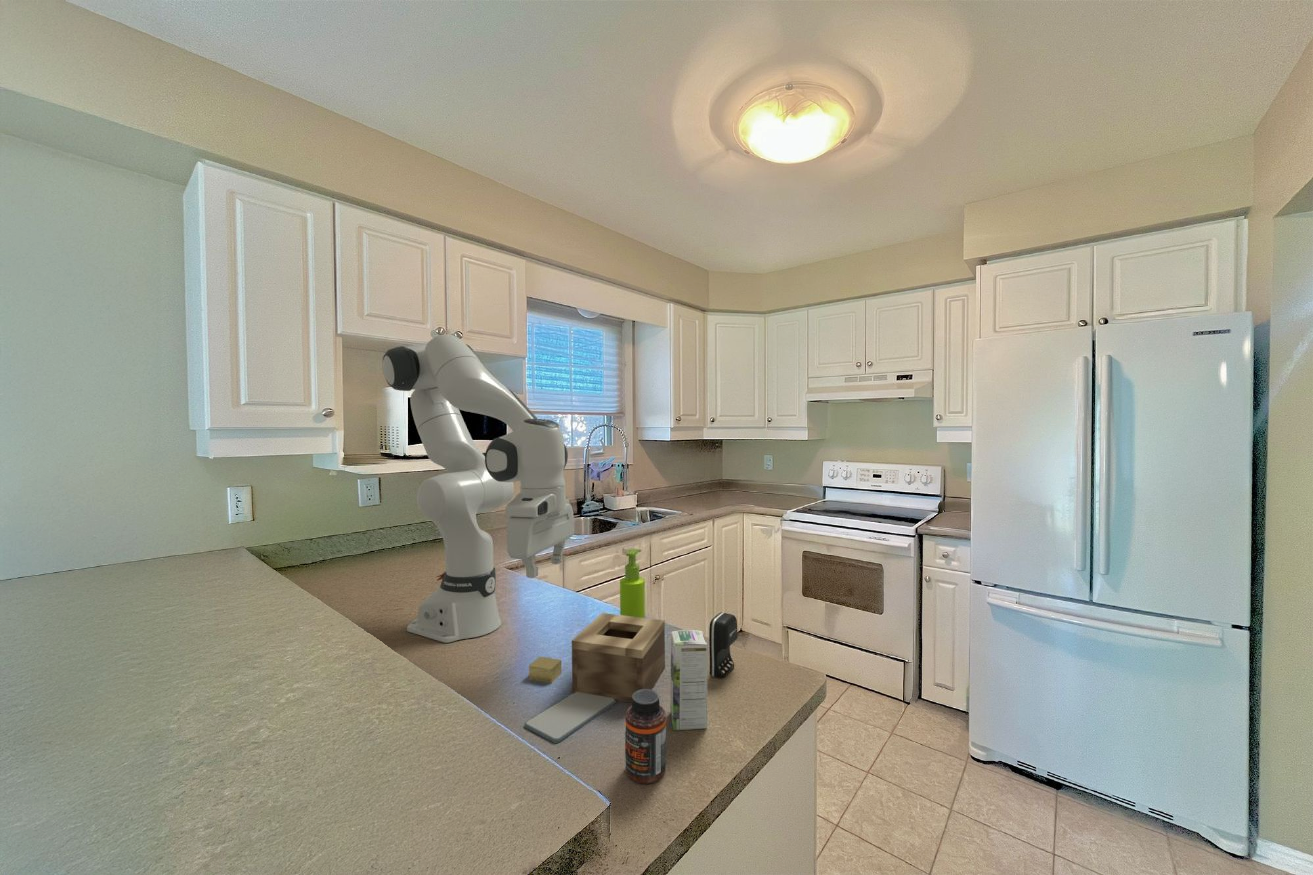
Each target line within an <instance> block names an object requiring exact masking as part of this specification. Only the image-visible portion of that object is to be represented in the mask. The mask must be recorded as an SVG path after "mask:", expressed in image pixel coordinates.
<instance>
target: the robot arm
mask: <svg viewBox="0 0 1313 875" xmlns="http://www.w3.org/2000/svg"><path fill="white" fill-rule="evenodd" d="M381 363H382V366H381V367H382V368H381V369H382V373H383V377H384V379H385V381H386V383H387V384H388V385H389V386H390V387H391V388H392V389H393V390H396V391H403V392H410V391H412V390H413V392H412V393H411V395H410V397H409V399H410V402H409V403H410V409H411V414H412V417H413V421H414V424H415V426H416V427H415V428H416V430H417V433H418V435H419V437H420V440H421V444H422V446H423V447H424V450H425V453H426V455H427V457H428V459H429V460H430V461H431V462H432V463H434V464H435V465H438V466H440V467H442V468H444V469H445V470H446V471H447V472H446V473H441V474H437V475H435V476H432V477H429V478H427V479H425V480H424V481H422V482H421V484H420V485H419V487H418V489H417V492H416V504H417V507H418V510H419V511H420V514H422V516H423V517H424V518H425V519H428V520H429V521H431V522H432V523H433V524H434V525H435V526H436V527H437V528H438V530H439V532H440V535H441V537H442V540H443V544H444V552H445V553H444V555H445V556H444V557H445V572H443V573H442V574H440V575H438V576H436V578H437V579H436V581H437V582H438V581H439V582H440V580H441V582H440V585H439V587H438V588H436V590H434V591H433V592H432V593H431V594H429V595H428V596H427V597H426V598H425V599H423V600H422V602H421V603H420V604H419V607H418V611H417V618H415V619H414V620H412V621H411V622H409V623H408V625H407V627H406V632H408V633H411V634H414V635H419V636H422V637H425V638H428V639H431V640H435V641H437V642H440V643H452V642H456V641H458V640H464V639H470V638H477V637H481V636H485V635H487V634H489V633H492V632H494V631H496V630H497V629H499V628H500V627H501V625H502V619H501V617H500V613H499V608H498V604H497V597H496V584H497V577H496V568H495V567H494V541H493V538H492V536H491V534H489V533H488V532H487V531H485V530H483V529H481V528H480V527H479V525H478V521H477V515H478V514H483V513H487V512H492V511H494V510H497V509H499V508H502V507H503V506H505V508H504V513H505V516H506V517H509V518H508V519H507V522H506V529H505V530H506V532H505V533H506V550H507V554H508V556H509V557H510V559H514V560H521V562H522V564H523V566H524V568H525V576H526V578H528V579H534V578H536V577H537V576H539V567H538V566H536V563H535V560H536V558H537V557H536V555H537V554H540V553H542V552H544V551H545V550H548V549H550V548H551V547H553V550H552V554H551V555H550V563H551V564H552V565H559V564H561V563H562V562H563V553H564V550H565V545H566V544H565V543H566V542H565V541H566V540H569V539H570V538H572V537H574V534H575V517H574V509H573V506H572V504H570V499H569V498H568V497H567V493H566V491H567V490H566V489H567V488H566V480H565V478H564V470H565V468H566V466H567V464H568V459H569V458H568V457H569V453H568V449H567V446H566V443H565V440H564V436H563V435H564V434H563V431H562V428H561V426H560V424H559V423H558V422H556V421H555V420H554V421H553V420H549V419H545V418H543V419H541V418H538V417H537V416H536V415H535V414H534V413H533V412H532V411H531V409H530V408H529V407H527V405H526V404H525V403H524V401H523V400H521V399H520V397H518V396H517V395H516V393H515V392H513V391H512V390H511V389H509V388H508V387H506V386H505V385H504V384H503V383H501V382H500V381H499V380H498V379H497V378H496V377H495V376H494V375H493V374H491V373H490V372H489V370H487V368H486V367H485V366H484V365H483V363H482V362H481V360H480V358H478V356H477V355H476V352H475V351H474V349H473V348H472V347H471V346H470V345H469V344H466V343H465V342H464V341H463V340H462V339H460V338H459V337H457V336H456V335H453V334H447V333H446V334H439V335H437V336H434V337H433V338H431V339H430V340H429V341H428V342H427V343H419V344H412V345H408V346H407V345H406V346H402V345H401V346H396V347H392V348H390V349H388V350H387V351H386V352H385V353H384V354H383V356H382V362H381ZM461 411H464V412H468V413H469V412H470V413H474V414H479V415H484V416H488V417H491V418H493V419H497V420H499V421H501V422H503V423H504V424H506V425H507V426H508V427H509V428H510V430H512V431H511V432H509V433H507V434H505V435H502V436H499V437H496V438H493V439H492V441H490V442H489V444H488V446H487V447H486V450H485V454H483V452H482V451H481V450H480V449H479V448H478V446H477V445H476V443H475V442H474V440H473V438H472V435H471V433H470V432H469V429H468V428H467V424H466V422H465V421H464V418H463V416H462V413H461ZM514 482H515V483H516V482H520V484H519V485H520V486H519V493H518V494H516V496H515V497H514V498H513V496H514V493H515V487H514Z"/></svg>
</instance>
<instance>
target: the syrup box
mask: <svg viewBox="0 0 1313 875" xmlns="http://www.w3.org/2000/svg"><path fill="white" fill-rule="evenodd" d="M670 637H671V638H670V642H671V643H670V646H671V647H670V718H671V724H672V728H673V730H674V731H685V730H686V731H687V730H701V729H708V673H709V672H708V671H709V670H708V662H709V657H708V653H709V652H708V650H709V649H708V648H709V647H708V646H709V644H708V642H707V639H706V637H705V634H704V632H703V631H702V630H696V629H695V630H694V629H681V630H680V629H679V630H674V631H671V635H670Z"/></svg>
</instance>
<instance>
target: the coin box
mask: <svg viewBox="0 0 1313 875" xmlns="http://www.w3.org/2000/svg"><path fill="white" fill-rule="evenodd" d="M665 624H666V623H665V619H655V618H648V617H645V618H640V617H632V616H623V615H620V614H612V613H604V612H601V613H600V614H599V615H598V616H597V617H595V619H593V620H592V622H590V623H589V624H588V625H587V626H586V627H585V628H584V629H582V630H581V631H580V633H578V634H577V635H576V636H574V638H573V639H572V640H571V677H572V678H571V682H572V683H571V684H572V689H571V690H572V694H573V693H575V692H581V693H587V694H592V695H598V696H604V697H609V698H614V699H616V702H623V703H629V704H632V695H633V694H634V693H635V692H636V691H638V690H642V689H650V690H654V687H655V686H656V684H657V682H658V680H659V679H660V677H661V676H660V675H662V673H663V672H664V671H663V670H665V668H666V646H665V645H666V643H665V642H666V636H665V634H666V632H665V630H666V629H665V627H666V625H665Z"/></svg>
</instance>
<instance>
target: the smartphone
mask: <svg viewBox="0 0 1313 875" xmlns="http://www.w3.org/2000/svg"><path fill="white" fill-rule="evenodd" d="M616 703H617V700H616V699H614V698H609V697H604V696H598V695H592V694H587V693H581V692H575V693H572V694H570V695H567V696H566V697H565V698H563V699H562V700H560V701H558V702H556V703H554V704H553V705H551V706H549V707H548V708H546V709H545V710H543V711H541V712H539V713H538V714H536V715H534V716H533V717H531V718H529V719H528V720H526V721H525V722H524V727H525V729H526V730H529V731H531V732H533V733H534V734H537V735H539V736H540V737H542V738H544V739H546V740H548V741H550V742H551V743H553V744H559V743H561V742H563V741H564V740H565V739H567V738H568V737H570V736H571V735H573V734H574V733H575V732H577V731H578V730H580V729H581V728H583V727H584V726H585V725H587V724H589V722H591V721H592V720H594V719H595V718H597V717H598V716H600V715H601V714H602V713H604V712H605V711H607V710H608V709H609V708H611V707H612V706H614V705H615V704H616Z"/></svg>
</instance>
